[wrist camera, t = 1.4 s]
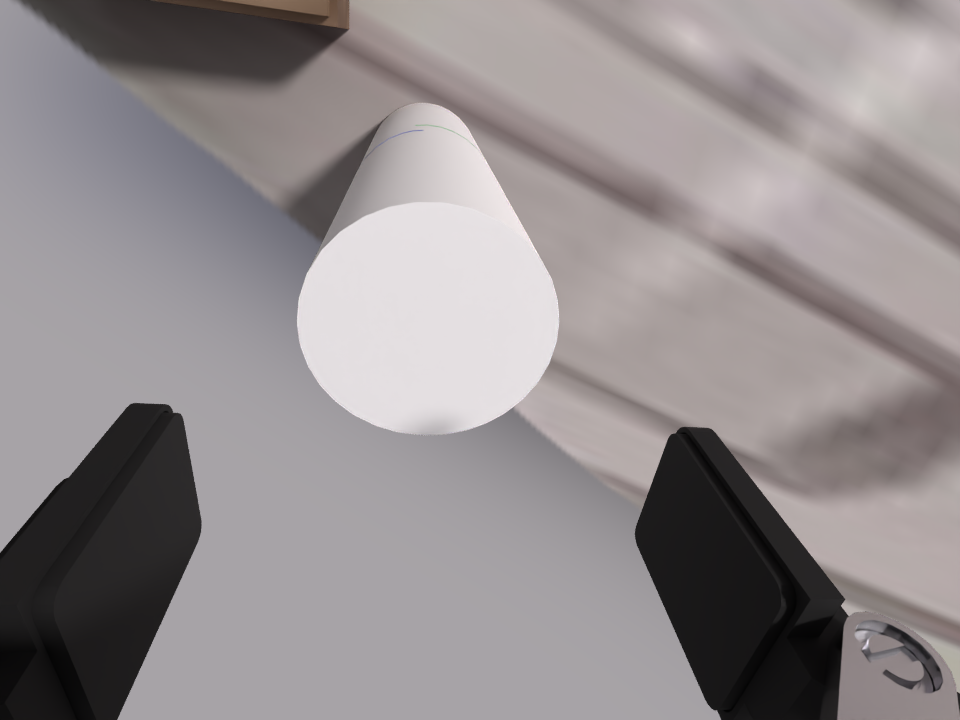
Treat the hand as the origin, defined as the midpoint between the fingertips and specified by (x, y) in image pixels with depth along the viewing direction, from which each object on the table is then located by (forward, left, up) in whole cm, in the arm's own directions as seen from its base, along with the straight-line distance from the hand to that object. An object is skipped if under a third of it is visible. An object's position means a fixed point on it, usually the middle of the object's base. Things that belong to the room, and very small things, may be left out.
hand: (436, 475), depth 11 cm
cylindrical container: (0, 0, -30) cm, 30 cm away
